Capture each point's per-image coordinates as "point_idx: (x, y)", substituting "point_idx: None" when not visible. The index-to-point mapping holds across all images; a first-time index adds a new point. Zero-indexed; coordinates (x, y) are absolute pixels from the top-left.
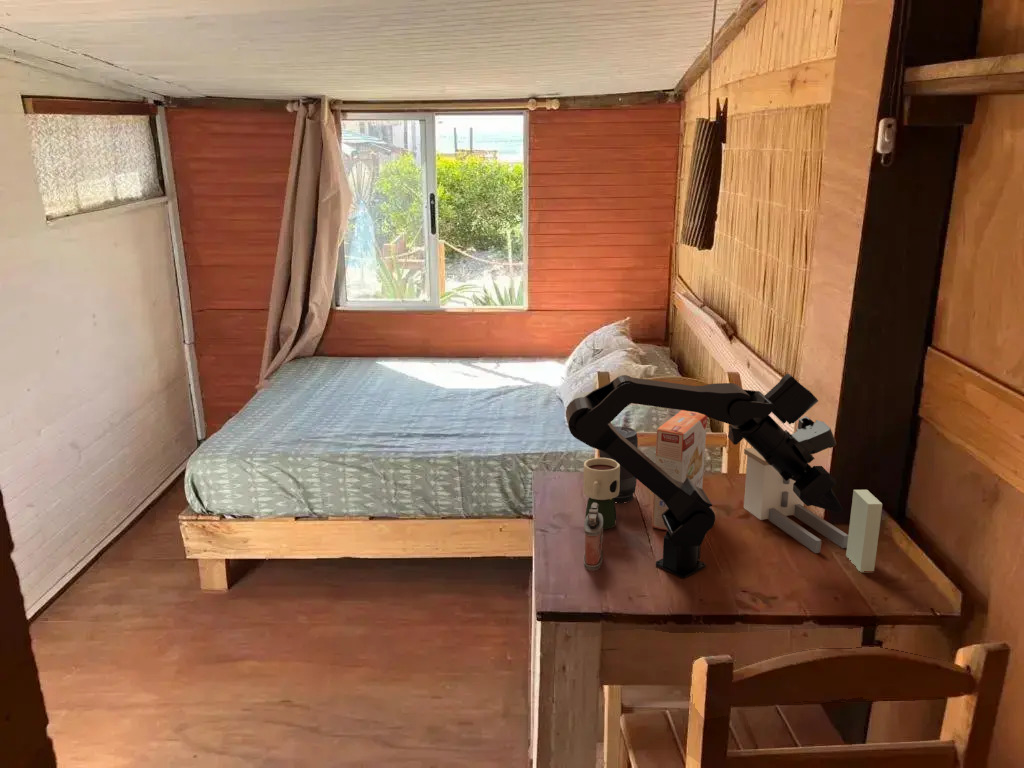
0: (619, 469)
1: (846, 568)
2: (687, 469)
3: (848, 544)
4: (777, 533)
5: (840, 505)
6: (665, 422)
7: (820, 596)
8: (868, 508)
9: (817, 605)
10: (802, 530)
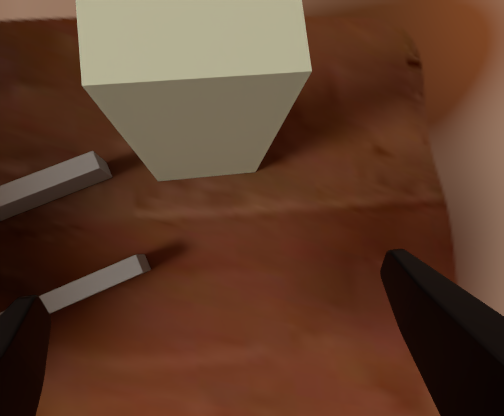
0: None
1: (236, 202)
2: None
3: (161, 172)
4: None
5: (437, 273)
6: None
7: (393, 313)
8: (305, 81)
9: None
10: (57, 304)
